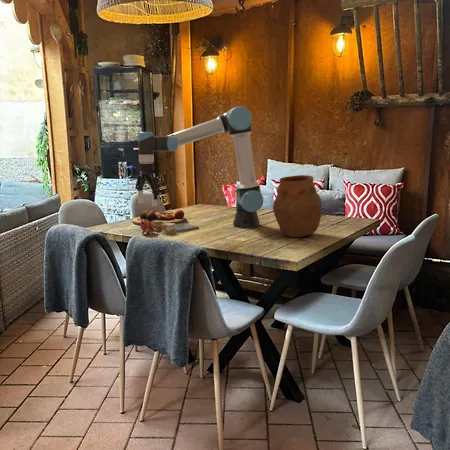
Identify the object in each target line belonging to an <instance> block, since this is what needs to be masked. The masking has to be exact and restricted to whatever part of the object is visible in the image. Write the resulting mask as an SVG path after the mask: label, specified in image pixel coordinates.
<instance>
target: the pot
mask: <svg viewBox="0 0 450 450" xmlns="http://www.w3.org/2000/svg"><path fill="white" fill-rule="evenodd" d="M272 210H273V214H274V217H275V220H276V222H277V225H278V226H279V230H280V232H282V234H283V235H284V236H286V237H291V238H301V237H306V236H311V235H313V234H314V233H315V232H316V231H317V230H318V228H319V226H320V222H321V219H322V214H323V213H322V212H323V203H322V199H321V196H320V195H319V194H318V192H317V189H316V185H315V183H314V176H313V175H307V174H306V175H305V174H301V175H299V174H298V175H289V176H284V177H281V178H279V184H278V189H277V190H276V198H275V199H274V201H273V206H272Z"/></svg>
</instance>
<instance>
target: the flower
mask: <svg viewBox="0 0 450 450" xmlns="http://www.w3.org/2000/svg"><path fill="white" fill-rule="evenodd" d="M139 223H141V225H139V228H140V230H142V231H141V235H143V234H144V233H146V234H147V235H152V234H153V233H154V232H157V231H156V230H157V229H155V226H154V225H155V224H153V223H152V222H151V221H148V220H147V219H145V220H144V219H143V218H142V219H141V222H139ZM153 227H154V228H153ZM154 230H155V231H154Z"/></svg>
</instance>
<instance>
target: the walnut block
mask: <svg viewBox="0 0 450 450" xmlns="http://www.w3.org/2000/svg"><path fill="white" fill-rule="evenodd" d="M151 222H152V223H153V224H155V225H154V226H155V229H157V230H156V231H155V230H154V232H162V224H163V221H161V220H155V221H151ZM153 228H154V227H153Z"/></svg>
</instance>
